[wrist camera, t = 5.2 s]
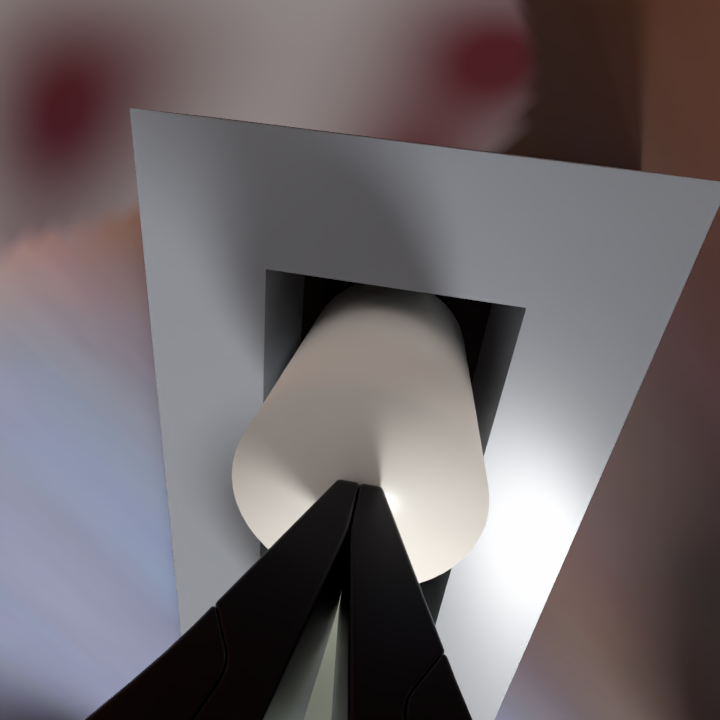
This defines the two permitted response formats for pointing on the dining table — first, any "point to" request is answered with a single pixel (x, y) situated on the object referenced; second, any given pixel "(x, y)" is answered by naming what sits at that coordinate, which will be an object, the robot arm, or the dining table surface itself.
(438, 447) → the cream rounded tapered piece
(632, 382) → the grey holder tray
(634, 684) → the dining table surface
